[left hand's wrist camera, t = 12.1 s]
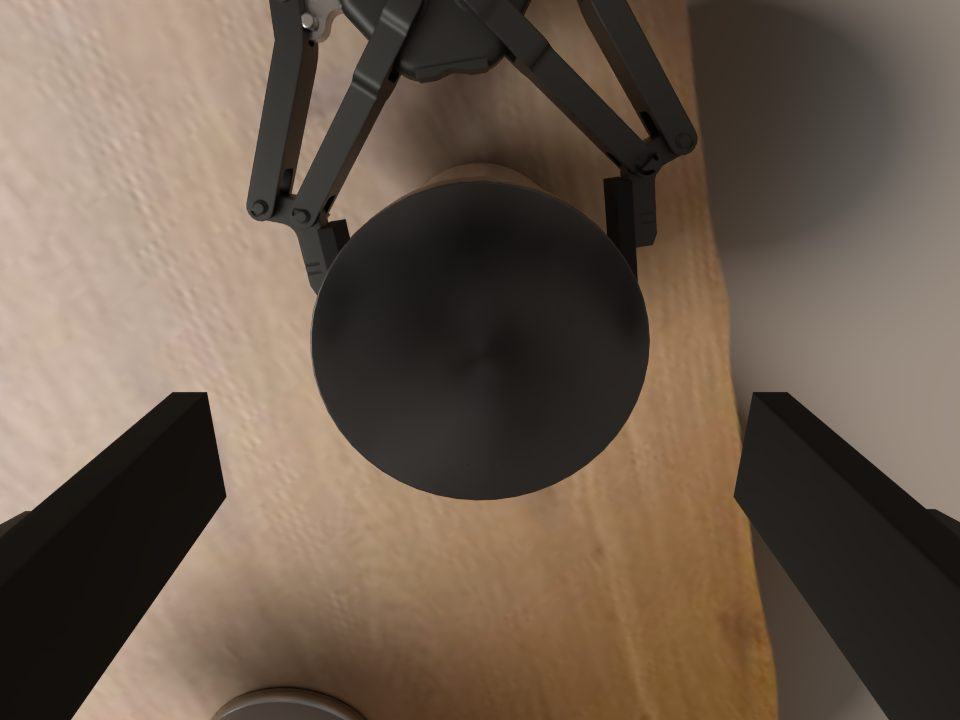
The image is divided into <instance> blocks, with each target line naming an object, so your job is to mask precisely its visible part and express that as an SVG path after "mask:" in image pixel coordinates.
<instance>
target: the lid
mask: <svg viewBox="0 0 960 720" xmlns="http://www.w3.org/2000/svg"><path fill="white" fill-rule="evenodd" d="M310 334H311V358H312V364H313V371H314V376H315V379H316V382H317V386H318V389H319V392H320V395H321V397H322V399H323V402H324V404H325V406H326V408H327V411H328V413H329V414H330V416H331V417H332V419H333V421H334V422H335V424H336V426H337V427H338V429H339V430H340V431H341V433H342V434H343V435H344V436H345V438H346V439H347V440H348V441H349V443H350V444H351V445H352V446H353V447H354V448H355V449H356V450H357V451H358V452H359V453H360V454H361V455H362V456H363V457H364V458H365V459H367V460H368V461H369V462H371V463H372V464H373V465H375V466H376V467H377V468H379V469H380V470H381V471H383V472H384V473H386V474H388V475H390V476H391V477H393V478H395V479H396V480H398V481H400V482H402V483H405V484H407V485H409V486H412V487H414V488H416V489H419V490H422V491H425V492H428V493H432V494H435V495H439V496H444V497H450V498H455V499H466V500H497V499H504V498H511V497H517V496H521V495H524V494H528V493H532V492H536V491H538V490H541V489H543V488H546V487H549V486H551V485H554V484H556V483H558V482H559V481H561V480H563V479H565V478H567V477H569V476H571V475H572V474H574V473H575V472H577V471H578V470H580V469H581V468H583V467H584V466H586V465H587V464H588V463H590V462H591V461H592V460H593V459H594V458H595V457H596V456H598V455H599V454H600V453H601V452H602V451H603V450H604V449H605V448H606V447H607V446H608V445H609V443H610V442H611V441H612V440H613V439H614V438H615V437H616V436H617V434H618V433H619V431H620V430H621V428H622V427H623V425H624V424H625V423H626V421H627V420H628V418H629V416H630V414H631V412H632V410H633V408H634V406H635V404H636V402H637V400H638V397H639V394H640V392H641V389H642V386H643V383H644V380H645V375H646V370H647V365H648V359H649V344H650V337H649V323H648V316H647V311H646V307H645V302H644V298H643V295H642V293H641V290H640V287H639V285H638V282H637V279H636V277H635V275H634V273H633V272H632V270H631V268H630V266H629V264H628V262H627V261H626V259H625V257H624V256H623V255H622V253H621V252H620V251H619V249H618V248H617V247H616V245H615V244H614V243H613V241H612V240H611V239H610V238H609V237H608V236H607V235H606V234H605V233H604V232H603V231H602V230H601V229H600V228H599V227H598V226H597V225H596V224H595V223H594V222H592V221H591V220H590V219H589V218H587V217H586V216H585V215H583V214H582V213H581V212H579V211H578V210H577V209H575V208H574V207H573V206H572V205H570V204H569V203H568V202H566V201H564V200H563V199H561V198H559V197H557V196H555V195H554V194H552V193H550V192H548V191H546V190H543V189H541V188H538V187H536V186H533V185H530V184H528V183H524V182H520V181H515V180H511V179H507V178H498V177H487V176H477V177H460V178H455V179H449V180H444V181H439V182H436V183H433V184H430V185H427V186H424V187H421V188H419V189H417V190H415V191H412V192H410V193H408V194H406V195H404V196H402V197H400V198H399V199H397V200H396V201H394V202H393V203H391V204H390V205H389V206H387V207H386V208H384V209H383V210H381V211H380V212H379V213H378V214H376V215H375V216H374V217H372V218H371V219H370V220H369V221H368V222H367V223H366V224H364V225H363V226H362V227H361V228H360V229H359V230H358V231H357V232H356V233H355V234H354V235H353V236H352V237H351V238H350V239H349V241H348V242H347V243H346V244H345V245H344V247H343V248H342V249H341V250H340V251H339V253H338V255H337V256H336V258H335V259H334V261H333V263H332V264H331V266H330V268H329V269H328V271H327V273H326V275H325V278H324V280H323V282H322V285H321V287H320V289H319V292H318V296H317V299H316V303H315V307H314V310H313V317H312V325H311V333H310Z"/></svg>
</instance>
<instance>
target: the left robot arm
mask: <svg viewBox="0 0 960 720" xmlns="http://www.w3.org/2000/svg"><path fill="white" fill-rule="evenodd" d="M225 498H226V492H225V486H224V481H223V476H222V470H221V465H220V459H219V454H218V449H217V443H216V438H215V433H214V427H213V422H212V417H211V411H210V406H209V400H208V395H207V392H172V393H171V394H170V395H169V396H168V397H166V398H165V399H164V400H163V401H162V402H160V403H159V404H158V405H157V406H156V407H155V408H153V409H152V410H151V411H150V412H149V413H147V414H146V415H145V416H144V417H143V418H141V419H140V420H139V421H138V422H137V423H136V424H134V425H133V426H132V427H131V428H130V429H128V430H127V431H126V432H125V433H124V434H122V435H121V436H120V437H119V438H118V439H116V440H115V441H114V442H113V443H112V444H111V445H109V446H108V447H107V448H106V449H105V450H103V451H102V452H101V453H100V454H99V455H97V456H96V457H95V458H94V459H93V460H92V461H90V462H89V463H88V464H87V465H86V466H84V467H83V468H82V469H81V470H80V471H78V472H77V473H76V474H75V475H74V476H73V477H71V478H70V479H69V480H68V481H67V482H65V483H64V484H63V485H62V486H61V487H59V488H58V489H57V490H56V491H55V492H54V493H52V494H51V495H50V496H49V497H48V498H46V499H45V500H44V501H43V502H42V503H40V504H39V505H38V506H37V507H36V508H35V509H33V510H32V511H25V512H23V513H21V514H19V515H17V516H15V517H13V518H12V519H10V520H8V521H6V522H4V523H2V524H0V720H71V719H72V718H73V716H74V715H75V713H76V712H77V710H78V709H79V708H80V706H81V705H82V703H83V702H84V700H85V699H86V697H87V696H88V695H89V693H90V692H91V690H92V689H93V687H94V686H95V685H96V683H97V682H98V680H99V679H100V677H101V676H102V675H103V673H104V672H105V670H106V669H107V667H108V666H109V665H110V663H111V662H112V660H113V659H114V657H115V656H116V654H117V653H118V652H119V650H120V649H121V647H122V646H123V644H124V643H125V642H126V640H127V639H128V637H129V636H130V634H131V633H132V632H133V630H134V629H135V627H136V626H137V624H138V623H139V622H140V620H141V619H142V617H143V616H144V614H145V613H146V611H147V610H148V609H149V607H150V606H151V604H152V603H153V601H154V600H155V599H156V597H157V596H158V594H159V593H160V591H161V590H162V589H163V587H164V586H165V584H166V583H167V581H168V580H169V579H170V577H171V576H172V574H173V573H174V571H175V570H176V568H177V567H178V566H179V564H180V563H181V561H182V560H183V558H184V557H185V556H186V554H187V553H188V551H189V550H190V548H191V547H192V546H193V544H194V543H195V541H196V540H197V538H198V537H199V536H200V534H201V533H202V531H203V530H204V528H205V527H206V525H207V524H208V523H209V521H210V520H211V518H212V517H213V515H214V514H215V513H216V511H217V510H218V508H219V507H220V505H221V504H222V503H223V501H224V500H225ZM734 498H735V500H736V501H737V503H738V504H739V505H740V507H741V508H742V510H743V511H744V513H745V514H746V515H747V517H748V518H749V520H750V521H751V523H752V524H753V525H754V527H755V528H756V530H757V531H758V533H759V534H760V535H761V537H762V538H763V540H764V541H765V543H766V544H767V546H768V547H769V548H770V550H771V551H772V553H773V554H774V556H775V557H776V558H777V560H778V561H779V563H780V564H781V566H782V567H783V568H784V570H785V571H786V573H787V574H788V576H789V577H790V579H791V580H792V581H793V583H794V584H795V586H796V587H797V589H798V590H799V591H800V593H801V594H802V596H803V597H804V599H805V600H806V601H807V603H808V604H809V606H810V607H811V609H812V610H813V611H814V613H815V614H816V616H817V617H818V619H819V620H820V621H821V623H822V624H823V626H824V627H825V629H826V630H827V632H828V633H829V634H830V636H831V637H832V639H833V640H834V642H835V643H836V644H837V646H838V647H839V649H840V650H841V652H842V653H843V654H844V656H845V657H846V659H847V660H848V661H849V663H850V665H851V666H852V667H853V669H854V670H855V672H856V673H857V675H858V676H859V677H860V679H861V680H862V682H863V683H864V685H865V686H866V687H867V689H868V690H869V692H870V693H871V695H872V696H873V697H874V699H875V700H876V702H877V703H878V705H879V706H880V708H881V709H882V710H883V712H884V713H885V715H886V716H887V718H888V719H889V720H960V522H958V521H957V520H955V519H953V518H951V517H949V516H947V515H945V514H943V513H942V512H940V511H938V510H936V509H925V508H924V507H923V506H922V505H921V504H920V503H918V502H917V501H916V500H915V499H914V498H912V497H911V496H910V495H909V494H908V493H906V492H905V491H904V490H903V489H902V488H900V487H899V486H898V485H897V484H896V483H895V482H893V481H892V480H891V479H890V478H889V477H887V476H886V475H885V474H884V473H883V472H881V471H880V470H879V469H878V468H877V467H876V466H874V465H873V464H872V463H871V462H870V461H868V460H867V459H866V458H865V457H864V456H862V455H861V454H860V453H859V452H858V451H857V450H855V449H854V448H853V447H852V446H851V445H849V444H848V443H847V442H846V441H845V440H843V439H842V438H841V437H840V436H839V435H838V434H836V433H835V432H834V431H833V430H832V429H830V428H829V427H828V426H827V425H826V424H824V423H823V422H822V421H821V420H820V419H819V418H817V417H816V416H815V415H814V414H812V413H811V412H810V411H809V410H808V409H807V408H805V407H804V406H803V405H802V404H801V403H800V402H798V401H797V400H796V399H795V398H794V397H792V396H791V395H790V394H789V393H788V392H753V395H752V400H751V406H750V411H749V417H748V422H747V427H746V433H745V438H744V443H743V449H742V454H741V459H740V465H739V470H738V476H737V481H736V486H735V492H734ZM211 720H365V719H364V718H363V717H362V716H361V715H360V714H359V713H357V712H356V711H355V710H353V709H352V708H351V707H349V706H347V705H346V704H344V703H342V702H340V701H338V700H336V699H334V698H331V697H329V696H326V695H323V694H320V693H316V692H312V691H307V690H302V689H293V688H273V689H264V690H259V691H255V692H251V693H248V694H245V695H242V696H240V697H238V698H236V699H233V700H232V701H230V702H229V703H227V704H226V705H224V706H223V707H222V708H221V709H220V710H219V711H218V712H216V714H215V715H214V716H213V717H212V719H211Z"/></svg>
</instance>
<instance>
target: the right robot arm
mask: <svg viewBox="0 0 960 720" xmlns="http://www.w3.org/2000/svg"><path fill="white" fill-rule="evenodd" d="M577 1H578V4H579V7H580V10H581V13H582V15H583V17H584V19H585V21H586V23H587V25H588V27H589V29H590V30H591V32H592V34H593V36H594V37H595V39H596V41H597V43H598V45H599V46H600V48H601V50H602V52H603V54H604V55H605V57H606V59H607V61H608V63H609V64H610V66H611V68H612V70H613V72H614V73H615V75H616V77H617V79H618V81H619V82H620V84H621V86H622V88H623V90H624V91H625V93H626V95H627V97H628V98H629V100H630V102H631V104H632V106H633V107H634V109H635V111H636V113H637V115H638V116H639V118H640V120H641V122H642V124H643V125H644V127H645V129H646V131H647V133H648V134H649V136H650V137H648V138H647V139H645V140H643V141H642V140H641V139H640V138H639V137H638V136H637V135H636V134H635V133H634V132H633V131H632V130H631V129H630V128H629V127H628V125H627V124H626V123H625V122H624V121H623V120H622V119H621V118H620V117H619V116H618V115H617V114H616V113H615V112H614V111H613V110H612V109H611V108H610V107H609V106H608V105H607V104H606V103H605V102H604V101H603V100H602V99H601V98H600V97H599V96H598V95H597V94H596V93H595V92H594V91H593V90H592V89H591V88H590V87H589V86H588V85H587V84H586V82H585V81H584V80H583V79H582V78H581V77H580V76H579V75H578V74H577V73H576V72H575V71H574V70H573V69H572V68H571V67H570V66H569V65H568V64H567V63H566V62H565V61H564V60H563V59H562V58H561V57H560V56H559V55H558V54H557V53H556V52H555V51H554V50H553V48H552V47H551V46H550V44H549V42H548V41H547V40H546V39H545V37H544V36H543V35H542V34H541V33H540V32H539V31H538V30H537V29H536V28H535V27H534V26H533V25H532V24H531V23H530V22H529V21H528V20H527V19H526V18H525V17H524V14H525V12H526V10H527V8H528V6H529V4H530V2H531V0H269V2H270V9H271V16H272V23H273V30H274V37H275V43H274V49H273V54H272V60H271V66H270V72H269V77H268V83H267V89H266V95H265V100H264V106H263V112H262V118H261V123H260V129H259V135H258V141H257V147H256V152H255V158H254V164H253V170H252V175H251V181H250V187H249V193H248V198H247V211H248V213H249V215H250V216H251V217H252V218H253V219H255V220H257V221H265V220H268V221H273V222H278V223H283V224H286V225H288V226H290V227H291V228H292V229H293V230H294V231H295V233H296V234H297V237H298V240H299V244H300V248H301V251H302V255H303V259H304V263H305V265H306V270H307V273H308V278H309V282H310V286H311V287H312V289H313V290H314V291H315V293H316V294H317V295H318V292H319V289H320V287H321V285H322V282H323V280H324V278H325V275H326V273H327V271H328V269H329V268H330V266H331V264H332V263H333V261H334V259H335V258H336V256H337V255H338V253H339V251H340V250H341V249H342V248H343V247H344V245H345V244H346V243H347V242H348V241H349V239H350V236H349V232H348V227H347V223H346V219H343V220H337V221H331V222H329V223H328V219H327V218H328V217H329V216H330V214H329V211H330V209H331V207H332V205H333V203H334V201H335V199H336V198H337V196H338V194H339V192H340V190H341V188H342V186H343V184H344V182H345V180H346V178H347V176H348V174H349V172H350V170H351V168H352V166H353V164H354V162H355V160H356V158H357V156H358V155H359V153H360V151H361V149H362V147H363V145H364V143H365V141H366V139H367V137H368V135H369V133H370V131H371V129H372V127H373V125H374V123H375V121H376V119H377V117H378V115H379V113H380V111H381V110H382V108H383V106H384V104H385V102H386V100H387V99H388V98H389V97H390V95H391V93H392V92H393V90H394V88H395V86H396V84H397V82H398V80H399V78H400V76H401V74H402V75H403V76H405V77H406V78H408V79H411V80H414V81H419V82H420V83H426V82H432V81H437V80H439V79H441V78H444V77H446V76H448V75H450V74H452V73H461V74H469V75H473V74H479V73H485V72H488V70H489V69H491V68H493V67H494V66H496V65H497V64H498V63H499V62H500V61H501V60H502V59H503V57H504V56H505V57H506V58H507V59H508V60H509V61H510V62H511V63H512V64H513V65H514V66H515V67H516V68H517V69H518V70H519V71H520V72H521V73H522V74H523V75H525V76H526V77H527V78H529V79H530V80H531V81H532V82H533V83H534V84H535V85H536V86H537V87H538V88H539V89H540V90H541V91H542V92H543V93H544V94H545V95H546V96H547V97H548V98H549V99H550V100H551V101H552V102H553V103H554V104H555V105H556V106H557V107H558V108H559V109H560V110H561V111H562V112H563V113H564V114H565V115H566V116H567V117H568V118H569V119H570V120H571V121H572V122H573V123H574V124H575V125H576V126H577V127H578V128H579V129H580V130H581V131H582V132H583V133H584V134H585V135H586V136H587V137H588V138H589V139H590V140H591V141H592V142H593V143H594V144H595V145H596V146H597V147H598V148H599V149H600V150H601V151H602V152H603V153H604V154H605V155H606V156H607V157H608V158H609V159H610V160H611V161H612V162H613V163H614V164H615V165H616V166H617V167H618V168H619V169H620V173H621V177H613V178H607V179H603V181H604V195H605V209H606V224H607V236H608V237H609V238H610V239H611V240H612V241H613V243H614V244H615V245H616V247H617V248H618V249H619V251H620V252H621V253H622V255H623V256H624V257H625V259H626V261H627V262H628V264H629V266H630V268H631V270H632V272H633V273H634V275H635V277H636V279H637V282H638V278H637V259H636V247H642V246H649V245H653V243H654V240H655V237H656V234H657V230H656V205H655V176H656V174H657V173H658V172H659V170H660V168H661V167H662V166H663V165H664V164H666V163H668V162H670V161H671V160H673V159H675V158H677V157H679V156H681V155H686V154H688V153H690V152H691V151H692V150H693V149H694V148H695V146H696V144H697V138H698V137H697V134H696V131H695V129H694V127H693V126H692V124H691V122H690V120H689V118H688V116H687V114H686V112H685V110H684V109H683V107H682V105H681V103H680V101H679V99H678V97H677V95H676V93H675V92H674V90H673V88H672V86H671V84H670V82H669V80H668V78H667V76H666V75H665V73H664V71H663V69H662V67H661V65H660V63H659V61H658V59H657V58H656V56H655V54H654V52H653V50H652V48H651V46H650V44H649V42H648V41H647V39H646V37H645V35H644V33H643V31H642V29H641V27H640V25H639V24H638V22H637V20H636V18H635V16H634V14H633V12H632V10H631V8H630V7H629V5H628V3H627V1H626V0H577ZM343 13H344V14H345V16H346V17H347V18H348V19H349V20H350V21H351V22H352V23H353V24H354V25H355V27H356V28H357V29H358V30H359V31H360V32H361V33H362V34H363V35H364V36H365V37H366V38H367V39H368V40H369V42H368V44H367V46H366V48H365V50H364V52H363V54H362V56H361V58H360V60H359V62H358V64H357V67H356V69H355V71H354V74H353V79H352V83H351V85H350V87H349V89H348V91H347V93H346V95H345V97H344V99H343V101H342V103H341V106H340V108H339V110H338V112H337V114H336V116H335V118H334V120H333V122H332V124H331V126H330V128H329V130H328V132H327V134H326V136H325V138H324V140H323V142H322V145H321V147H320V149H319V151H318V153H317V155H316V157H315V159H314V161H313V163H312V165H311V167H310V169H309V171H308V173H307V175H306V177H305V179H304V182H303V184H302V186H301V188H300V190H299V192H298V194H297V195H294V194H292V189H293V184H294V179H295V174H296V169H297V164H298V159H299V154H300V149H301V144H302V139H303V134H304V129H305V124H306V119H307V114H308V109H309V104H310V99H311V94H312V89H313V84H314V79H315V74H316V68H317V61H318V43H320V42H324V41H325V40H327V38H328V37H329V35H330V33H331V25H332V22H333V20H334V19H335V17H336V16H338V15H339V14H343Z"/></svg>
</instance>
